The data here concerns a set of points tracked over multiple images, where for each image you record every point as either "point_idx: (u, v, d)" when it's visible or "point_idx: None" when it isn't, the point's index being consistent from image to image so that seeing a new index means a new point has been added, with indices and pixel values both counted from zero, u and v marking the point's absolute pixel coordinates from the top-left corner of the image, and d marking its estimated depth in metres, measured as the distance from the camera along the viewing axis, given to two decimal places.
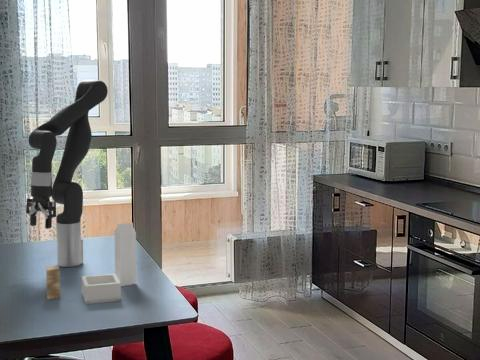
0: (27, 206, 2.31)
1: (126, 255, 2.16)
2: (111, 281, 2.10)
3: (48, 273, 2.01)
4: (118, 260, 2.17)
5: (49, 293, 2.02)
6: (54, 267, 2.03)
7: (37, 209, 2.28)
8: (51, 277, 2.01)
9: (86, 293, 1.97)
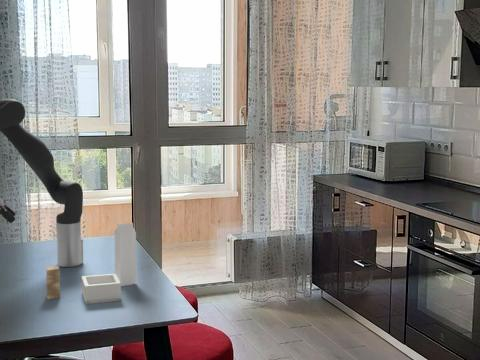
0: None
1: (126, 255, 2.16)
2: (111, 281, 2.10)
3: (48, 273, 2.01)
4: (118, 260, 2.17)
5: (49, 293, 2.02)
6: (54, 267, 2.03)
7: None
8: (51, 277, 2.01)
9: (86, 293, 1.97)
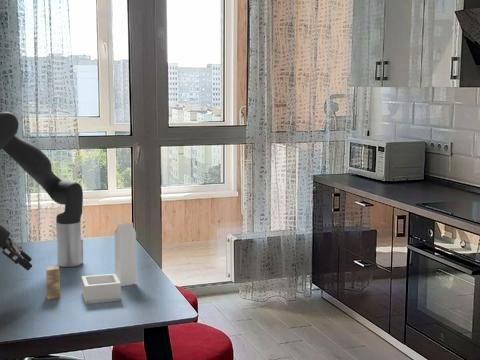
0: None
1: (126, 255, 2.16)
2: (111, 281, 2.10)
3: (48, 273, 2.01)
4: (118, 260, 2.17)
5: (49, 293, 2.02)
6: (54, 267, 2.03)
7: None
8: (51, 277, 2.01)
9: (86, 293, 1.97)
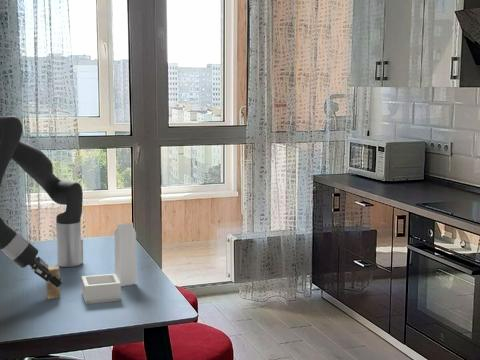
0: None
1: (126, 255, 2.16)
2: (111, 281, 2.10)
3: None
4: (118, 260, 2.17)
5: (49, 293, 2.02)
6: (54, 267, 2.03)
7: None
8: None
9: (86, 293, 1.97)
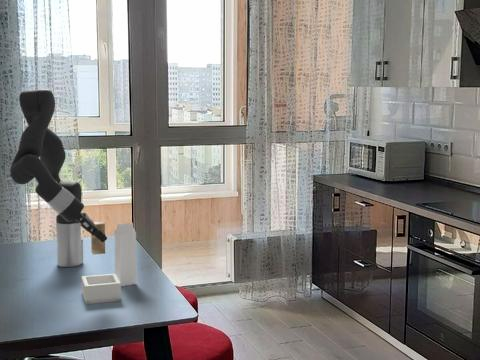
0: None
1: (126, 255, 2.16)
2: (111, 281, 2.10)
3: None
4: (118, 260, 2.17)
5: (94, 249, 2.00)
6: (99, 222, 2.01)
7: None
8: None
9: (86, 293, 1.97)
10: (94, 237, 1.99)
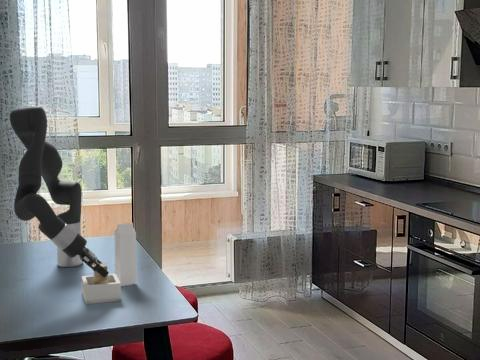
0: None
1: (126, 255, 2.16)
2: (111, 281, 2.10)
3: None
4: (118, 260, 2.17)
5: None
6: (101, 265, 2.03)
7: None
8: (99, 275, 2.01)
9: (86, 293, 1.97)
10: (97, 280, 2.01)
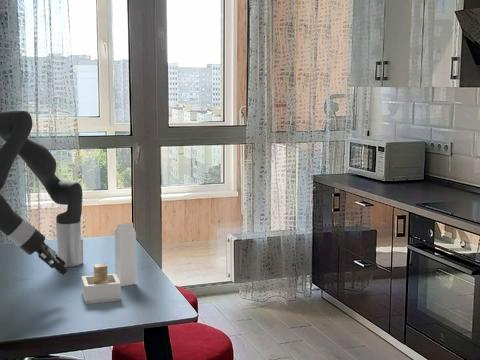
0: None
1: (126, 255, 2.16)
2: (111, 281, 2.10)
3: (96, 270, 2.01)
4: (118, 260, 2.17)
5: None
6: (101, 265, 2.03)
7: None
8: (99, 275, 2.01)
9: (86, 293, 1.97)
10: (97, 280, 2.01)
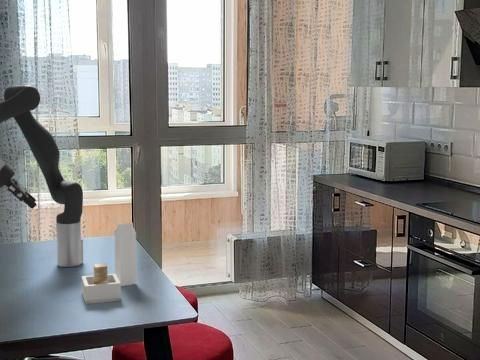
0: None
1: (126, 255, 2.16)
2: (111, 281, 2.10)
3: (96, 270, 2.01)
4: (118, 260, 2.17)
5: None
6: (101, 265, 2.03)
7: None
8: (99, 275, 2.01)
9: (86, 293, 1.97)
10: (97, 280, 2.01)
